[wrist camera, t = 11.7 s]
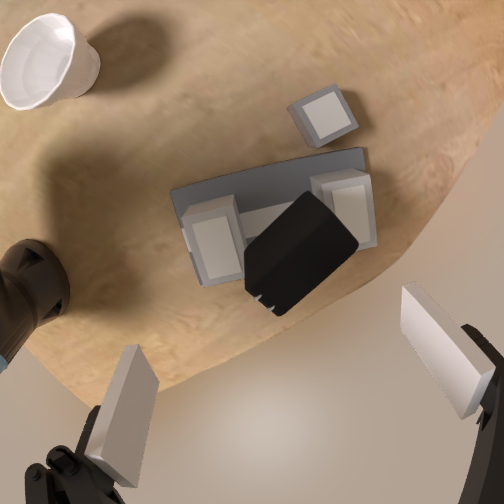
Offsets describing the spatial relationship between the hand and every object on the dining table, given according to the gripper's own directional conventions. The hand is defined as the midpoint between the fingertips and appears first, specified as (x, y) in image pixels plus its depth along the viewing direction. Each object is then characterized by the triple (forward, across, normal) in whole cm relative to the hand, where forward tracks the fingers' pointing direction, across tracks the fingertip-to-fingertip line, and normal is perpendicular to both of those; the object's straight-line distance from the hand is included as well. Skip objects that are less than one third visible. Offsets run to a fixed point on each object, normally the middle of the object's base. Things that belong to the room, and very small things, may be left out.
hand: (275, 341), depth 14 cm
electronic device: (+22, +4, -3) cm, 22 cm away
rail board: (+29, +4, -3) cm, 29 cm away
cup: (+30, -20, +26) cm, 44 cm away
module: (+29, +11, +10) cm, 33 cm away
